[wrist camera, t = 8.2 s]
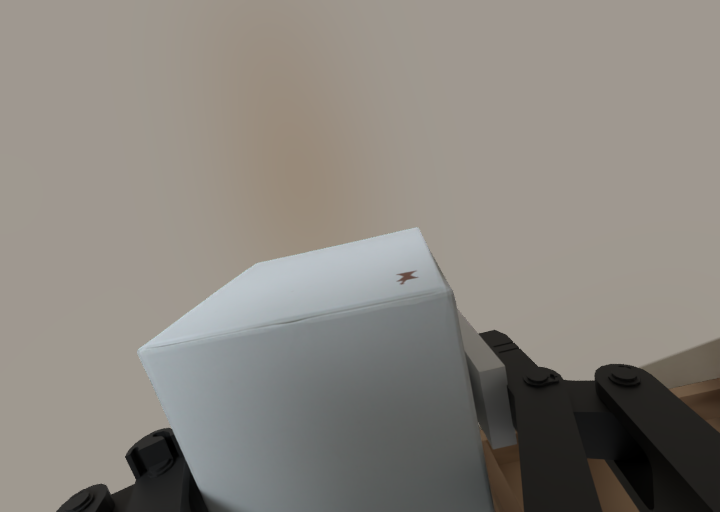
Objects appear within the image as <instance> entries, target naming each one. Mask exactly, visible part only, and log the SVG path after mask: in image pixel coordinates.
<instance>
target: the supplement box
mask: <svg viewBox="0 0 720 512" xmlns="http://www.w3.org/2000/svg"><path fill="white" fill-rule="evenodd" d="M138 355H139V358H140V360H141V362H142V365H143V367H144V368H145V370H146V372H147V375H148V377H149V379H150V381H151V383H152V385H153V388H154V390H155V392H156V394H157V396H158V399H159V401H160V403H161V405H162V408H163V410H164V412H165V414H166V416H167V419H168V421H169V423H170V425H171V428H172V430H173V432H174V434H175V437H176V439H177V441H178V443H179V446H180V448H181V450H182V452H183V455H184V457H185V459H186V461H187V464H188V466H189V468H190V470H191V473H192V475H193V477H194V479H195V482H196V484H197V486H198V488H199V490H200V493H201V495H202V497H203V500H204V502H205V504H206V506H207V508H208V511H209V512H495V509H494V503H493V498H492V493H491V488H490V483H489V477H488V472H487V467H486V462H485V456H484V451H483V446H482V441H481V435H480V430H479V425H478V420H477V414H476V409H475V403H474V398H473V392H472V387H471V382H470V376H469V371H468V366H467V361H466V356H465V351H464V345H463V340H462V335H461V329H460V324H459V318H458V312H457V307H456V301H455V297H454V294H453V291H452V289H451V287H450V286H449V284H448V282H447V281H446V279H445V277H444V275H443V273H442V272H441V270H440V268H439V266H438V264H437V262H436V261H435V259H434V257H433V255H432V253H431V252H430V250H429V248H428V246H427V244H426V242H425V240H424V238H423V236H422V233H421V231H420V229H419V228H418V227H417V228H411V229H407V230H402V231H398V232H394V233H390V234H386V235H381V236H377V237H372V238H368V239H364V240H360V241H356V242H351V243H346V244H342V245H337V246H333V247H328V248H324V249H319V250H315V251H310V252H306V253H301V254H297V255H293V256H288V257H283V258H278V259H274V260H269V261H265V262H259V263H256V264H255V265H253V266H252V267H250V268H249V269H247V270H246V271H244V272H243V273H242V274H240V275H239V276H237V277H236V278H235V279H233V280H232V281H231V282H229V283H228V284H226V285H225V286H224V287H222V288H221V289H219V290H218V291H216V292H215V293H214V294H212V295H211V296H210V297H208V298H207V299H206V300H204V301H203V302H202V303H200V304H199V305H198V306H196V307H195V308H193V309H192V310H191V311H189V312H188V313H187V314H185V315H184V316H183V317H181V318H180V319H179V320H177V321H176V322H175V323H173V324H172V325H171V326H170V327H168V328H167V329H166V330H164V331H163V332H161V333H160V334H159V335H157V336H156V337H154V338H153V339H152V340H150V341H149V342H148V343H147V344H145V345H144V346H142V347H141V348H140V349H138Z"/></svg>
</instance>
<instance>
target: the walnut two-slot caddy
mask: <svg viewBox="0 0 720 512" xmlns="http://www.w3.org/2000/svg"><path fill="white" fill-rule="evenodd" d="M669 390H670V391H671V392H672V393H673V394H675V395H676V396H677V397H678V398H679V399H680V400H682V401H683V402H684V403H685V404H686V405H688V406H689V407H690V408H691V409H692V410H693V411H695V412H696V413H697V414H698V415H699V416H700V417H702V418H703V419H704V420H705V421H706V422H708V423H709V424H710V425H711V426H712V427H713V428H715V429H716V430H717V431H718V432H719V433H720V378H717V379H712V380H707V381H703V382H698V383H694V384H689V385H685V386H680V387H676V388H671V389H669ZM515 433H516V439H517V444H515V445H511V446H506V447H502V448H497V449H492V447H491V445H490V443H489V441H488V439H487V438H486V436H485V434H484V432H483V430H480V435H481V441H482V446H483V451H484V456H485V462H486V467H487V472H488V477H489V483H490V488H491V493H492V498H493V503H494V509H495V512H524V505H523V493H522V481H521V469H520V457H519V445H518V433H517V431H516V430H515ZM587 461H588V464H589V467H590V471H591V474H592V478H593V481H594V484H595V488H596V491H597V495H598V498H599V501H600V505H601V508H602V511H603V512H639V510H638V509H637V507H636V506H635V504H634V503H633V501H632V500H631V498H630V497H629V495H628V494H627V492H626V491H625V489H624V488H623V486H622V485H621V484H620V482H619V481H618V479H617V478H616V476H615V475H614V473H613V472H612V470H611V469H610V467H609V466H608V464H607V463H606V461H605V460H604V459H588V458H587Z"/></svg>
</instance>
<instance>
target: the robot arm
mask: <svg viewBox="0 0 720 512" xmlns="http://www.w3.org/2000/svg"><path fill="white" fill-rule="evenodd" d="M457 312H458V318H459V324H460V329H461V335H462V340H463V345H464V351H465V356H466V361H467V366H468V371H469V376H470V382H471V387H472V392H473V398H474V403H475V409H476V414H477V420H478V422H479V424H480V426H481V428H482V430H483V432H484V434H485V436H486V438H487V439H488V441H489V443H490V445H491V447H492V449H497V448H502V447H506V446H511V445H515V444H517V439H516V433H515V430H516V431H517V433H518V445H519V457H520V469H521V481H522V493H523V505H524V512H603V511H602V508H601V505H600V501H599V498H598V495H597V491H596V488H595V484H594V481H593V478H592V474H591V471H590V467H589V464H588V461H587V458H588V459H604V460H605V461H606V463H607V464H608V466H609V467H610V469H611V470H612V472H613V473H614V475H615V476H616V478H617V479H618V481H619V482H620V484H621V485H622V486H623V488H624V489H625V491H626V492H627V494H628V495H629V497H630V498H631V500H632V501H633V503H634V504H635V506H636V507H637V509H638V510H639V512H720V433H719V432H718V431H717V430H716V429H715V428H713V427H712V426H711V425H710V424H709V423H708V422H706V421H705V420H704V419H703V418H702V417H700V416H699V415H698V414H697V413H696V412H695V411H693V410H692V409H691V408H690V407H689V406H688V405H686V404H685V403H684V402H683V401H682V400H680V399H679V398H678V397H677V396H676V395H675V394H673V393H672V392H671V391H670V390H669V389H668V388H666V387H665V386H664V385H663V384H662V383H661V382H659V381H658V380H657V379H656V378H655V377H653V376H652V375H651V374H649V373H648V372H646V371H644V370H643V369H640V368H637V367H634V366H630V365H624V364H609V365H605V366H601V367H600V368H598V369H597V370H596V372H595V381H568V380H563V379H562V377H561V375H560V374H558V373H556V372H555V371H553V370H551V369H548V368H544V367H538V366H537V365H536V364H535V363H534V362H533V361H532V360H531V359H530V358H529V357H528V356H527V355H526V354H525V353H524V352H523V351H522V350H521V349H519V347H518V346H517V345H516V344H515V343H513V341H512V340H511V339H510V338H509V337H508V336H507V335H505V334H503V333H500V332H498V331H496V330H493V331H488V332H484V333H479V334H478V333H477V332H476V331H475V329H474V328H473V327H472V326H471V325H470V323H469V322H468V321H467V320H466V319H465V317H464V316H463V315H462V314H461V313H460V311H459V310H458V309H457ZM125 458H126V460H127V462H128V464H129V466H130V468H131V470H132V472H133V474H134V476H135V478H136V482H135V484H134V485H132V486H129V487H127V488H125V489H123V490H120V491H118V492H116V493H114V494H112V495H111V494H110V492H109V490H108V488H107V486H106V485H104V484H97V485H93V486H91V487H88V488H86V489H83V490H81V491H80V492H78V493H77V494H75V495H73V496H72V497H71V498H70V499H69V500H68V501H66V502H65V503H64V504H63V505H62V506H61V507H60V508H59V509H58V510H57V511H56V512H209V511H208V508H207V506H206V504H205V502H204V500H203V497H202V495H201V493H200V490H199V488H198V486H197V484H196V482H195V479H194V477H193V475H192V473H191V470H190V468H189V466H188V464H187V461H186V459H185V457H184V455H183V452H182V450H181V448H180V446H179V443H178V441H177V439H176V437H175V434H174V432H173V430H172V429H171V428H166V429H165V428H164V429H160V430H157V431H154V432H152V433H150V434H149V435H147V436H145V437H143V438H142V439H141V440H139V441H138V442H137V443H135V444H134V446H132V447H131V448H130V449H129V451H128V453H127V454H126V456H125Z"/></svg>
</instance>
